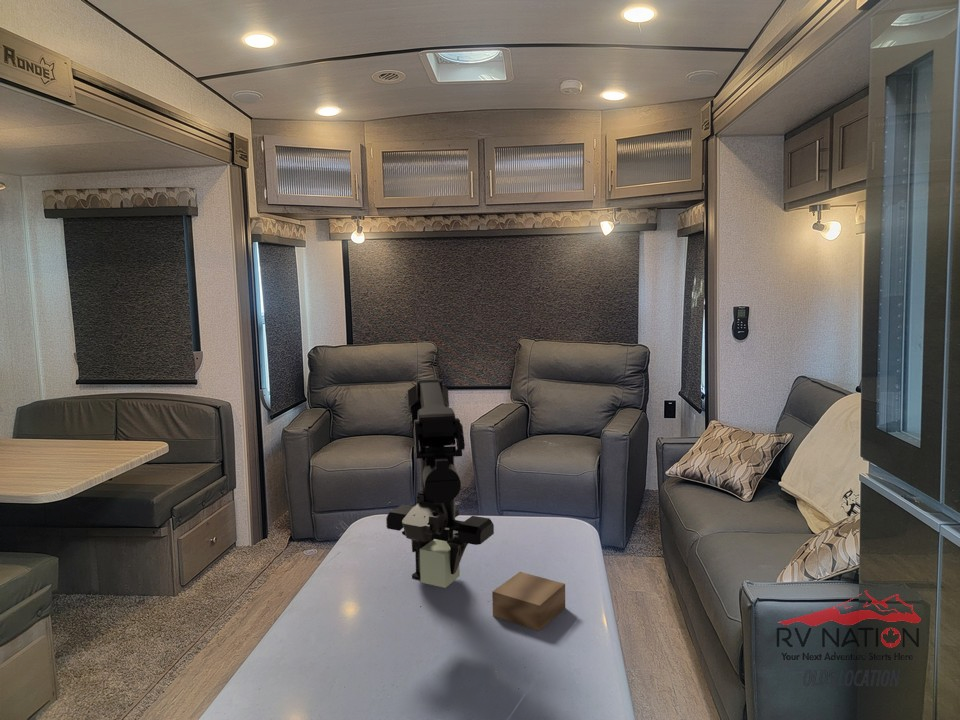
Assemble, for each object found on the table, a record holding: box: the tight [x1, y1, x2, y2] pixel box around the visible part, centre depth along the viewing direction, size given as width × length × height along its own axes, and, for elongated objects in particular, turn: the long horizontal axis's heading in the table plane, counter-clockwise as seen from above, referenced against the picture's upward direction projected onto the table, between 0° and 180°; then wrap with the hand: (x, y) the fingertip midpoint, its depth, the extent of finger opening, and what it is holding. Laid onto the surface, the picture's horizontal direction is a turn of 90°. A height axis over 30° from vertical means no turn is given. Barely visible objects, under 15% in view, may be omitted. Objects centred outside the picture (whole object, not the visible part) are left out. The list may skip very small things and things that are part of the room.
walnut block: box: [491, 571, 566, 632], centre depth 124 cm, size 10×10×5 cm
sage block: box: [420, 539, 461, 589], centre depth 115 cm, size 5×5×6 cm
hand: (440, 570), depth 115 cm, fingers closed on sage block, 5 cm apart
